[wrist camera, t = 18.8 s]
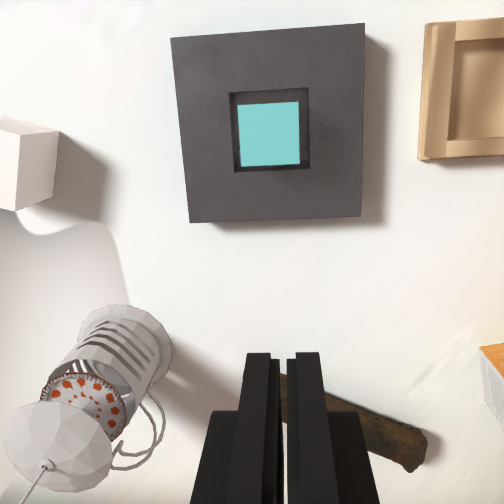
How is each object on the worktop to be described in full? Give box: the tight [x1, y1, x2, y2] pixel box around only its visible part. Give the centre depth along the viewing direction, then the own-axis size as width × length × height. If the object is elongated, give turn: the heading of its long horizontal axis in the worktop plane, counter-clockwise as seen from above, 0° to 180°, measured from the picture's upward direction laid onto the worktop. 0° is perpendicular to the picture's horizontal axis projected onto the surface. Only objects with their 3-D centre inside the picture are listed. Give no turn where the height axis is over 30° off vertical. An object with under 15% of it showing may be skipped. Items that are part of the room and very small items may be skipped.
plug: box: [238, 102, 300, 166], centre depth 33 cm, size 4×4×7 cm
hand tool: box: [242, 369, 428, 473], centre depth 42 cm, size 19×4×5 cm, turn 64°
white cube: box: [0, 115, 60, 211], centre depth 36 cm, size 6×6×6 cm
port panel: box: [170, 23, 365, 223], centre depth 35 cm, size 14×14×3 cm
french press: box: [2, 305, 172, 504], centre depth 32 cm, size 10×12×25 cm
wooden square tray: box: [417, 17, 504, 160], centre depth 33 cm, size 10×10×2 cm
